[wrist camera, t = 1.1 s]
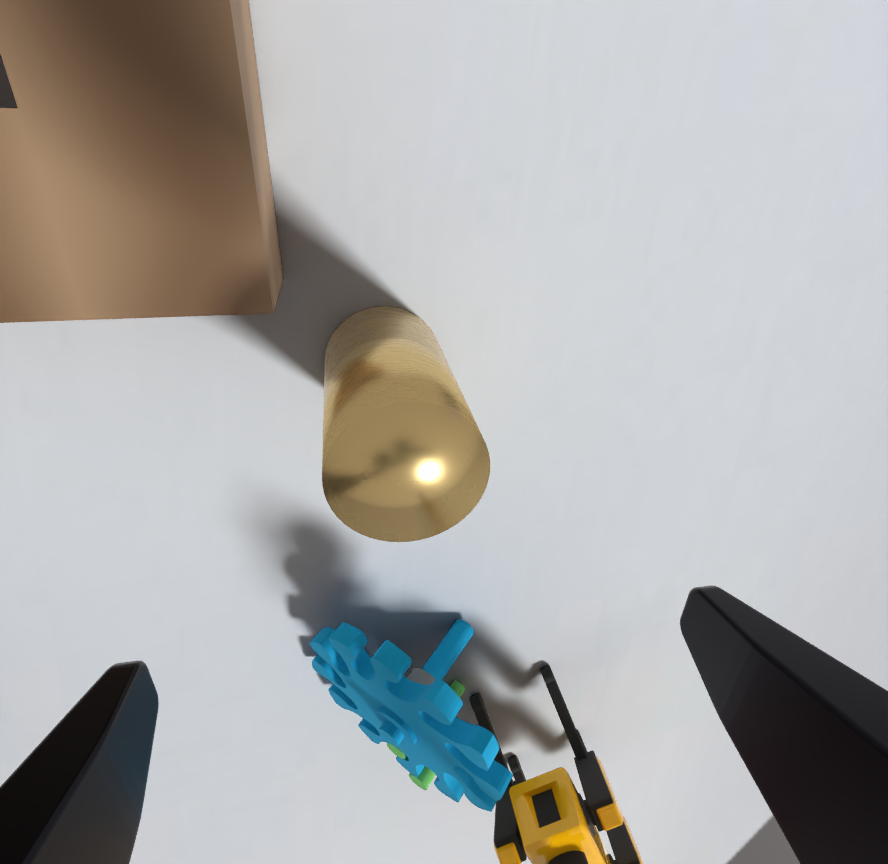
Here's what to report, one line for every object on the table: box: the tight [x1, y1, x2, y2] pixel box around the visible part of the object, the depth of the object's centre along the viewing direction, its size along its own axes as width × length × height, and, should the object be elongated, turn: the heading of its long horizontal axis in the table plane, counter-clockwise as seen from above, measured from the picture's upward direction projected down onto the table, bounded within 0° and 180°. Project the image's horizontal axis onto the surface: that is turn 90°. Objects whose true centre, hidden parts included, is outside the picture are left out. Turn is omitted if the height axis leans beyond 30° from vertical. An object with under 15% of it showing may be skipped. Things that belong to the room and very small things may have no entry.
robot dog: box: [470, 666, 644, 864], centre depth 25 cm, size 6×18×13 cm, turn 21°
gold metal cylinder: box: [322, 306, 490, 542], centre depth 16 cm, size 4×4×7 cm
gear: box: [309, 619, 513, 811], centre depth 25 cm, size 11×6×10 cm
